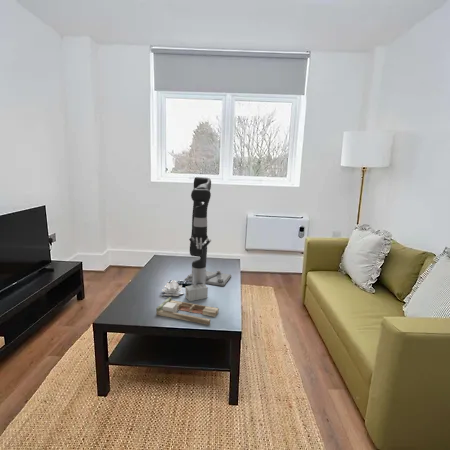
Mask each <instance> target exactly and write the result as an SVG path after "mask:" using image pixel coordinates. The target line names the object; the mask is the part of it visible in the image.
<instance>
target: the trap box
mask: <svg viewBox="0 0 450 450" xmlns="http://www.w3.org/2000/svg"><path fill="white" fill-rule="evenodd" d="M167 302H171V303H177V311H184V312H188V313H194V314H199V315H203V316H209V317H213V318H215V317H216V316H217V315H218V314H219V312H220V311H219V309H220V308H219V307H214V306H208V305H202V304H197V303H191V302H185V301H180V300H173V298H172V297H171V296H170V297H167V298H166V299H165V300H164V301H163V302H162V303H161V304H159V305H158V306H157V307H156V308H155V309H156V312H155V314H156V315H157V316H161V317H167V318H172V319H177V320H183V321H187V322H193V323H198V324H201V325H209V326H210V325H211V318H206V317H205V318H204V317H200V316H195V315H189V314H184V313H179V312H176V313H174V312H169V311H163V306H164V305H165V304H166V303H167Z"/></svg>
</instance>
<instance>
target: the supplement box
mask: <svg viewBox="0 0 450 450" xmlns="http://www.w3.org/2000/svg"><path fill="white" fill-rule="evenodd" d="M208 289H209V287H208V286H207V284H206V285H204V284H197V285H192V284H191V285H187V286H185V292H184V294H185V298H186V299H187V301H189V302H193V301H198V300H204V299H207V298H208V291H209V290H208Z"/></svg>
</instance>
